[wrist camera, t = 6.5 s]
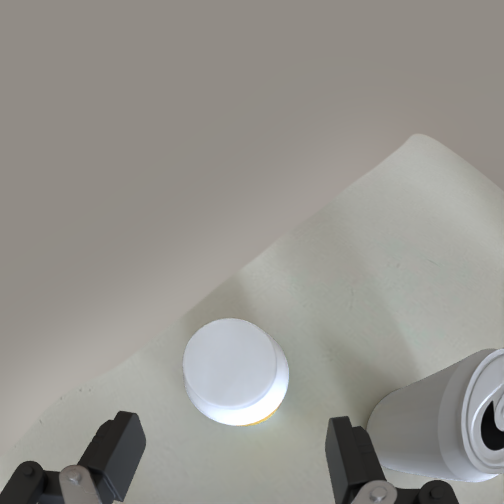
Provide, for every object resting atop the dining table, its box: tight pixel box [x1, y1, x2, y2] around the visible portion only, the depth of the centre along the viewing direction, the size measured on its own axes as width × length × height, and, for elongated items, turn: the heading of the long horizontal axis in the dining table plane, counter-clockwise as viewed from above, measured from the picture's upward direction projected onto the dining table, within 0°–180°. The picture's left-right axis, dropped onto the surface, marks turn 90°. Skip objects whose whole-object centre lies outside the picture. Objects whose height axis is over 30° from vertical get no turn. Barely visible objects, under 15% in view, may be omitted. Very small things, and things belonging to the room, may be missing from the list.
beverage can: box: [366, 348, 504, 482], centre depth 12 cm, size 6×6×12 cm
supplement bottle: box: [183, 318, 289, 426], centre depth 16 cm, size 5×5×10 cm
